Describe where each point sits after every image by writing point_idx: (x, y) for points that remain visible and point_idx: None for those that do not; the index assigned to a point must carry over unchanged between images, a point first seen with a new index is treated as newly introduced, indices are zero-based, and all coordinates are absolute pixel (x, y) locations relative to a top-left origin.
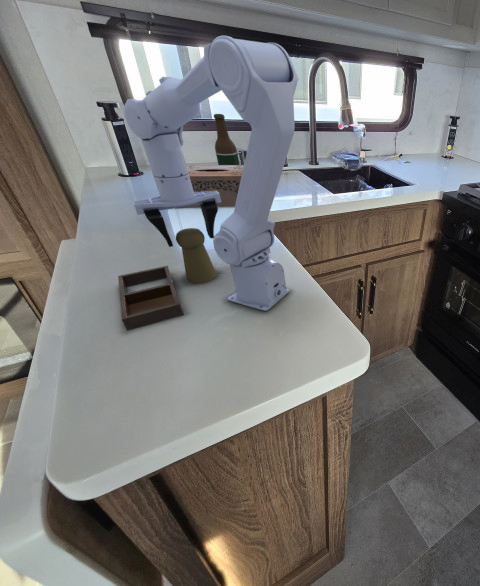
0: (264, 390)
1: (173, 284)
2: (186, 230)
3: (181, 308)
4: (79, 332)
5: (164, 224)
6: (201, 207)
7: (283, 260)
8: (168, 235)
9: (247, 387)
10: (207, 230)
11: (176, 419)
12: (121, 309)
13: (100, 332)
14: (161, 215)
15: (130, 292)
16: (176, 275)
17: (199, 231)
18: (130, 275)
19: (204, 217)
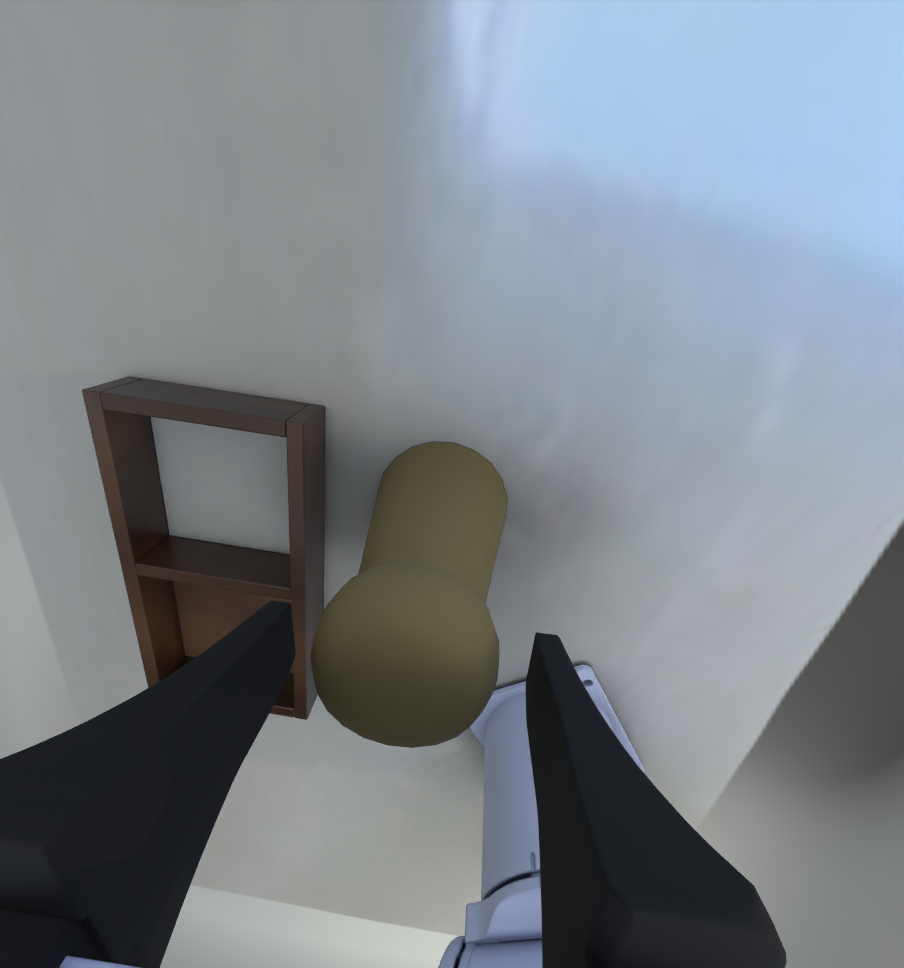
0: (401, 915)
1: (305, 606)
2: (383, 701)
3: (315, 692)
4: (56, 592)
5: (191, 870)
6: (580, 903)
7: (819, 590)
8: (248, 744)
9: (380, 899)
10: (537, 685)
11: (268, 882)
12: (141, 650)
13: (112, 624)
14: (134, 954)
15: (155, 569)
16: (347, 421)
17: (467, 724)
18: (137, 413)
19: (561, 780)
